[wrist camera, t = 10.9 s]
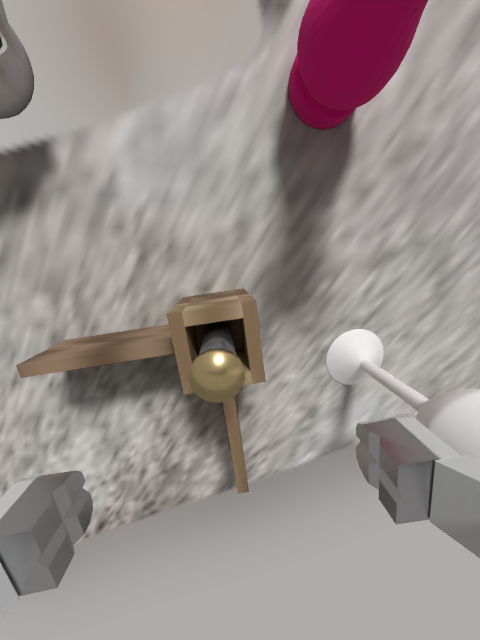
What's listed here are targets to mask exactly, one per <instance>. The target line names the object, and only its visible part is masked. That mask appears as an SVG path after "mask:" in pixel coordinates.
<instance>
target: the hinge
mask: <svg viewBox="0 0 480 640" xmlns="http://www.w3.org/2000/svg"><path fill="white" fill-rule="evenodd" d="M167 318H168V323H169V325H164V326H157V327H150V328H143V329H137V330H130V331H123V332H117V333H110V334H103V335H97V336H90V337H83V338H77V339H70V340H65V341H63V342H61V343H59V344H57V345H55V346H53V347H51V348H49V349H48V350H46V351H44V352H42V353H40V354H38V355H36V356H34V357H32V358H30V359H28V360H26V361H24V362H22V363H20V364H18V365H16V366H17V369H18V372H19V374H20V377H21V378H23V377H29V376H36V375H42V374H48V373H55V372H61V371H68V370H74V369H80V368H87V367H93V366H100V365H106V364H112V363H119V362H125V361H132V360H138V359H144V358H151V357H157V356H164V355H170V354H175V356H176V361H177V365H178V370H179V375H180V379H181V384H182V389H183V394H184V395H187V394H193V393H194V392H193V390H192V389H191V387H190V383H189V372H190V368H191V365H192V363H193V361H194V360H195V359H196V357H197V356H199V353H200V349H201V344H202V339H203V335H204V330H205V327H206V325H207V324H208V323H213V322H220V321H226V322H228V323H229V325H230V326H231V329H232V335H233V340H234V346H235V352H236V356H237V357H238V358H239V359H240V360H241V362H242V364H243V368H244V372H245V382H244V385H248V384H254V383H260V382H266V381H265V372H264V364H263V355H262V347H261V338H260V330H259V321H258V313H257V304H256V301H255V300H254V299H253V298H252V297H251V296H250V295H249V294H248V293H247V291H246V290H245V289H238V290H232V291H225V292H218V293H211V294H204V295H197V296H190V297H183V298H182V299H181V301H180V302H179V303H178V304H177V305H176V306H175V307H174V308H173V309H172V310H171V311H170V312H169V313H168V314H167ZM222 406H223V408H224V414H225V419H226V425H227V431H228V439H229V448H230V451H231V455H232V461H233V467H234V472H235V478H236V484H237V490H238V493H244V492H249V490H248V483H247V475H246V468H245V460H244V453H243V445H242V438H241V432H240V426H239V419H238V413H237V406H236V400H235V397H234V398H232V399H231V400H228V401H226V402H222Z"/></svg>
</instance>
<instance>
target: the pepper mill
mask: <svg viewBox="0 0 480 640" xmlns="http://www.w3.org/2000/svg"><path fill="white" fill-rule="evenodd" d="M427 2H428V0H310V2H309V4H308V6H307V9H306V11H305V14H304V16H303V18H302V22H301V26H300V30H299V37H298V44H297V55H296V58H295V61H294V63H293V66H292V69H291V73H290V77H289V95H290V100H291V104H292V106H293V109H294V110H295V112H296V114H297V115H298V116H299V118H300V119H301V120H302V121H303V122H304V123H306V124H308V125H309V126H311V127H314V128H318V129H329V128H332V127H335V126H337V125H339V124H341V123H342V122H343V121H344V120H346V119H347V118H348V116H349V115H350V114H351V113H352V112H353V111H354V110H355V109H356V108H357V107H359V106H361V105H363V104H365V103H367V102H369V101H370V100H371V99H372V98H374V97H375V96H376V95H377V94H378V93H379V92H380V91H381V90H382V89H383V88H384V87H385V85H386V84H387V83H388V82H389V80H390V79H391V78H392V76H393V75H394V74H395V72H396V71H397V69H398V68H399V66H400V64H401V62H402V60H403V58H404V57H405V55H406V53H407V51H408V49H409V47H410V45H411V43H412V40H413V38H414V35H415V32H416V29H417V27H418V24H419V21H420V18H421V15H422V13H423V11H424V8H425V6H426V4H427Z"/></svg>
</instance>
